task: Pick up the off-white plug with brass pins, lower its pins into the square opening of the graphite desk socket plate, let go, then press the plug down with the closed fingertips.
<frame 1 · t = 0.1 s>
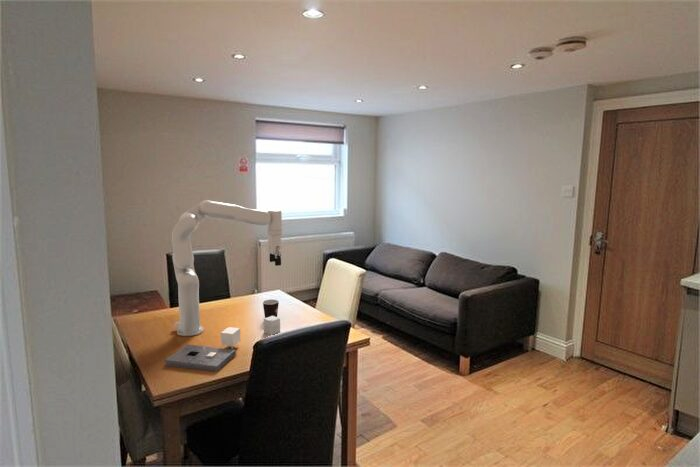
hand: (275, 263, 229), 31 cm above the table, tool pointing down, fingers open, 9 cm apart
plug: (231, 347, 195), on the table
coffee mug: (273, 318, 233), on the table
socket plate: (201, 360, 182), on the table
skincare box: (272, 332, 214), on the table
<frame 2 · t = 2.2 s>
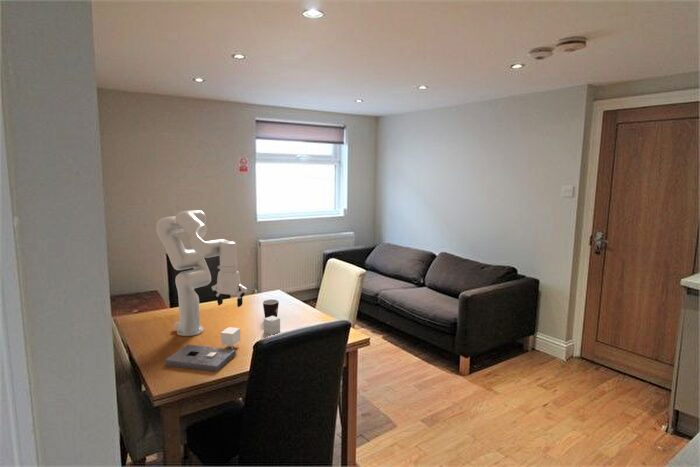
hand: (230, 305, 192), 20 cm above the table, tool pointing down, fingers open, 9 cm apart
nothing on the table moved.
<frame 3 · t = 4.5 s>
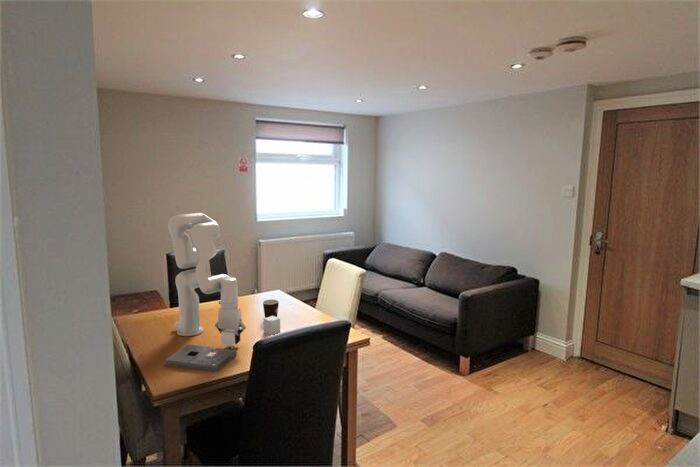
hand: (230, 341, 195), 3 cm above the table, tool pointing down, fingers closed on plug, 6 cm apart
plug: (231, 347, 195), on the table, touching gripper
everything else where it was.
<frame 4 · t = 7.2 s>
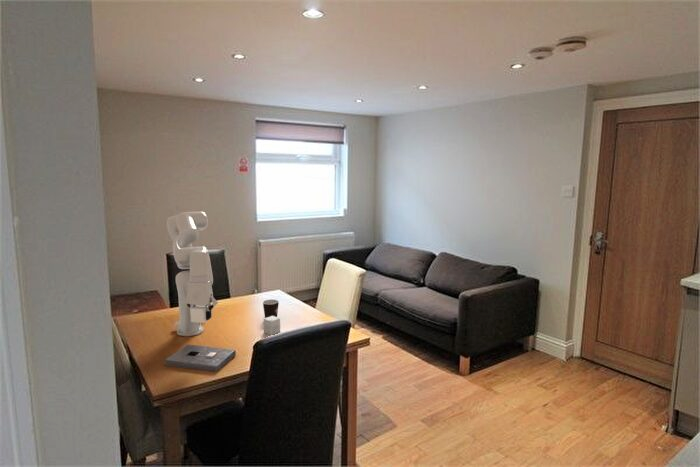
hand: (201, 318, 183), 18 cm above the table, tool pointing down, fingers closed on plug, 6 cm apart
plug: (201, 324, 184), point 15 cm above the table, touching gripper
everything else where it was.
when the fingers open (4 cm above the table, at t = 9.9 s): plug stays where it is, resting on socket plate.
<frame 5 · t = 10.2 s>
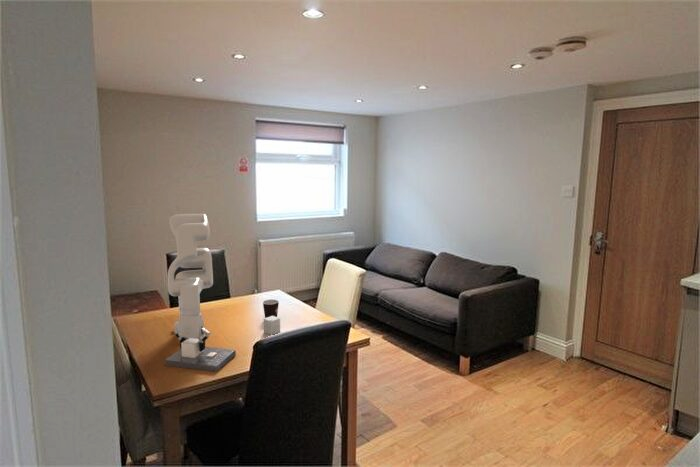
hand: (192, 349, 182), 5 cm above the table, tool pointing down, fingers open, 8 cm apart
plug: (193, 358, 183), resting on socket plate
everything else where it was.
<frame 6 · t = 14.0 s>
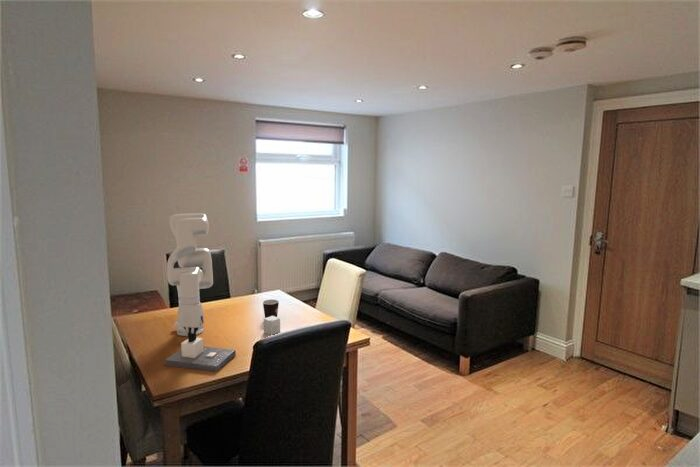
hand: (192, 340, 182), 8 cm above the table, tool pointing down, fingers closed
plug: (193, 358, 183), resting on socket plate, touching gripper
everything else where it was.
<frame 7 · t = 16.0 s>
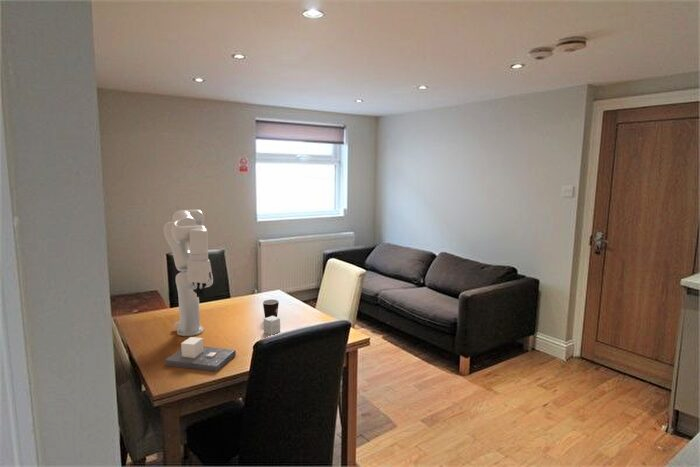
hand: (200, 296, 188), 26 cm above the table, tool pointing down, fingers closed
plug: (193, 358, 183), resting on socket plate
everything else where it was.
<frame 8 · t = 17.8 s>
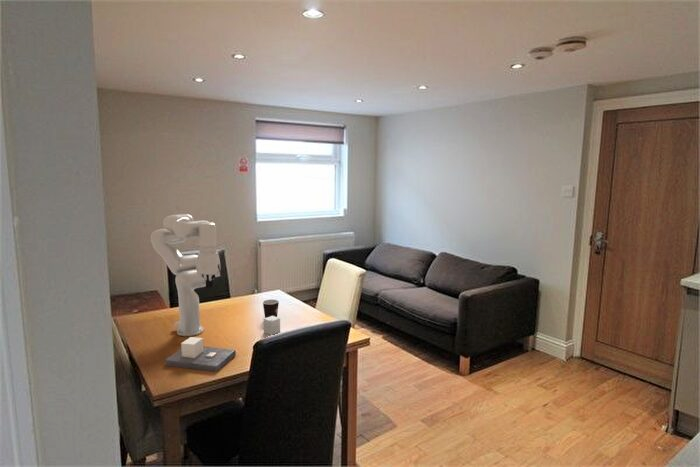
hand: (209, 288, 196), 27 cm above the table, tool pointing down, fingers closed
nothing on the table moved.
at the end: plug 0.0 cm from the target spot on the socket plate, point 0.2 cm above the socket plate's base; plug tilted 0°; the gripper is holding nothing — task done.
